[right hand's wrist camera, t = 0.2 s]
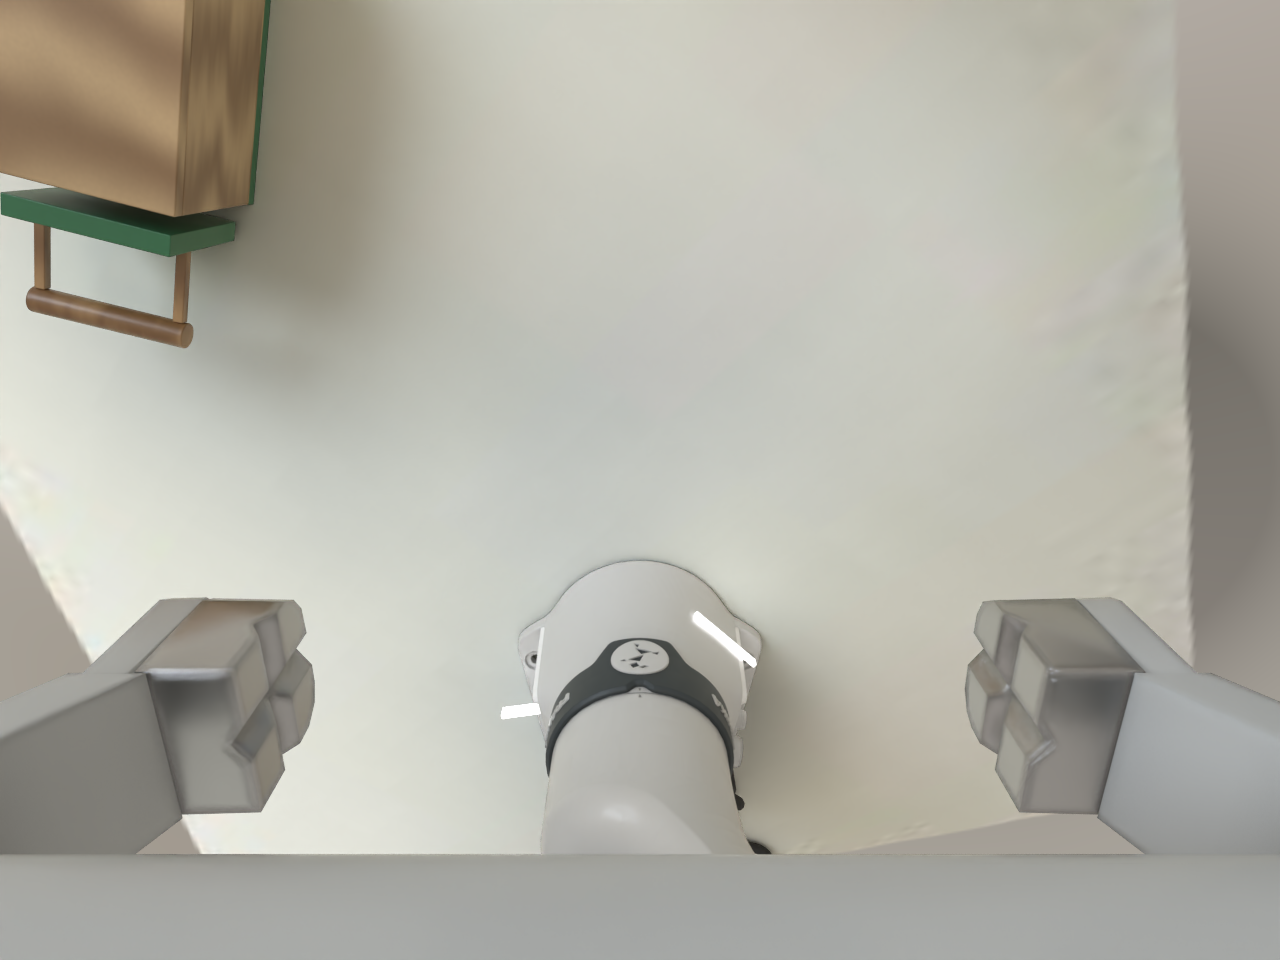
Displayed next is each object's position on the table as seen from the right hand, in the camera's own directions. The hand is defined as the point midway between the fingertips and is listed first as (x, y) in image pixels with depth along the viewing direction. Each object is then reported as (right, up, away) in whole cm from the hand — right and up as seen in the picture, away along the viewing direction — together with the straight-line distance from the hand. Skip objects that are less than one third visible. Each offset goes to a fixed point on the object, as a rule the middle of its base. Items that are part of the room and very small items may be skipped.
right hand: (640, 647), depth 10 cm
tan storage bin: (-27, +28, +40) cm, 56 cm away
